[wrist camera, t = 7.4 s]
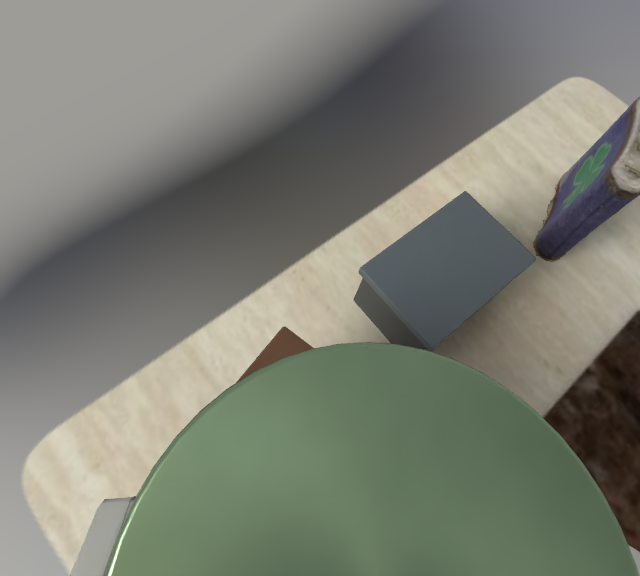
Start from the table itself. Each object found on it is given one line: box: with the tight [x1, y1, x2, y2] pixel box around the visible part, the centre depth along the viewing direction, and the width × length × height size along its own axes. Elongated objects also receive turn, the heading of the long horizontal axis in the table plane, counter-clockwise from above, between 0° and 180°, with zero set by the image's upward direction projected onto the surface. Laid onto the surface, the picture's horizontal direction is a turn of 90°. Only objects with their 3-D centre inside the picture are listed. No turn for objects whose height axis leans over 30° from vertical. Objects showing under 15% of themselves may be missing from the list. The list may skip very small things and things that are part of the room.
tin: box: [105, 342, 639, 576], centre depth 8 cm, size 5×5×10 cm
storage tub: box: [354, 191, 536, 351], centre depth 29 cm, size 10×6×5 cm
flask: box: [533, 97, 640, 261], centre depth 30 cm, size 9×3×11 cm, turn 150°
